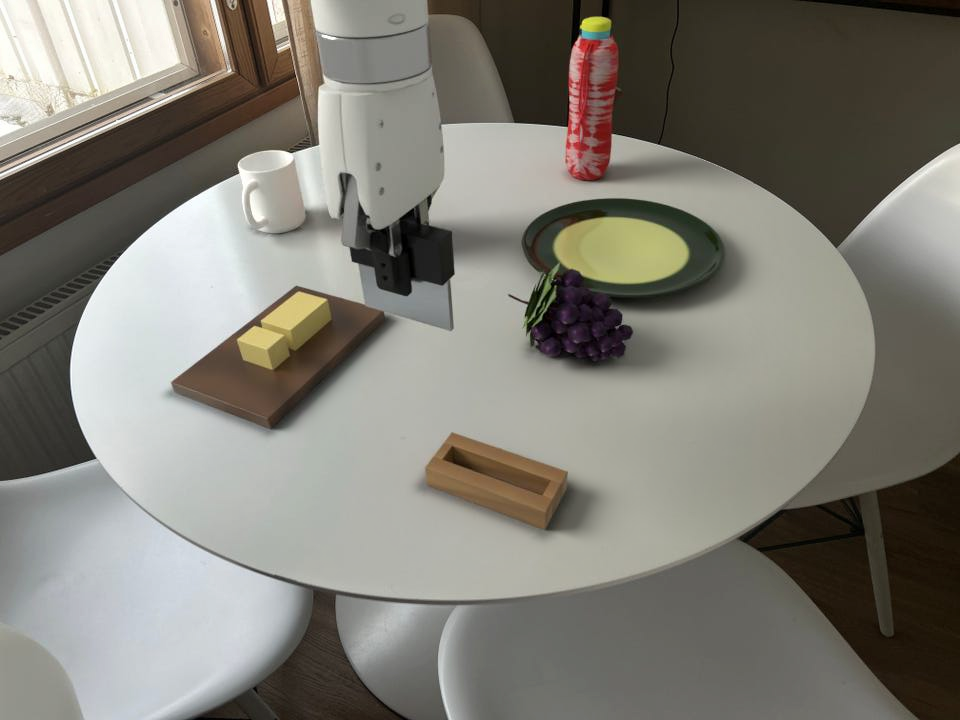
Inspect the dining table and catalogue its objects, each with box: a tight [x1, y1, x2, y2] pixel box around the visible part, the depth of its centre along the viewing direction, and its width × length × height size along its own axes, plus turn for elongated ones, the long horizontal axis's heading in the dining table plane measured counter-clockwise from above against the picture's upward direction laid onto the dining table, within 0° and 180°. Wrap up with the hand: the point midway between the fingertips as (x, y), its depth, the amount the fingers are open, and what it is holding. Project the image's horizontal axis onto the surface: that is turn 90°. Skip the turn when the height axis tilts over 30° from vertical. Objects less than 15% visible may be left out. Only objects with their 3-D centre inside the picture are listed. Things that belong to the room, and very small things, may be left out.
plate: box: [521, 197, 726, 299], centre depth 98 cm, size 28×28×2 cm
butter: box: [261, 291, 331, 351], centre depth 83 cm, size 7×4×3 cm, turn 153°
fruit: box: [507, 262, 634, 362], centre depth 80 cm, size 10×11×15 cm
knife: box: [348, 219, 456, 332], centre depth 58 cm, size 2×9×9 cm, turn 62°
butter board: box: [170, 285, 386, 430], centre depth 83 cm, size 22×14×2 cm, turn 153°
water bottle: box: [564, 16, 623, 181], centre depth 114 cm, size 12×8×25 cm, turn 149°
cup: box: [237, 149, 307, 234], centre depth 106 cm, size 8×12×10 cm
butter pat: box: [237, 326, 290, 370], centre depth 79 cm, size 3×4×3 cm, turn 63°
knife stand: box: [424, 432, 569, 531], centre depth 65 cm, size 5×12×2 cm, turn 63°
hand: (403, 281), depth 59 cm, fingers closed on knife, 2 cm apart
